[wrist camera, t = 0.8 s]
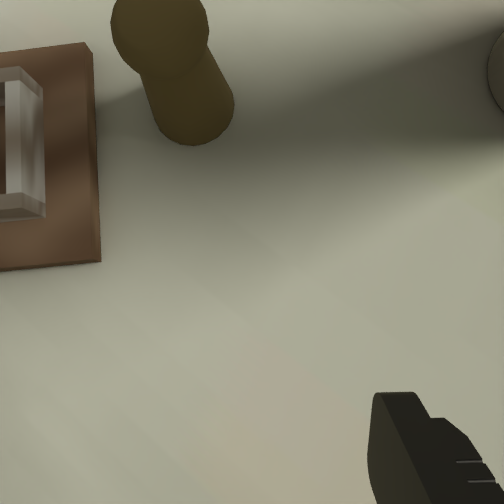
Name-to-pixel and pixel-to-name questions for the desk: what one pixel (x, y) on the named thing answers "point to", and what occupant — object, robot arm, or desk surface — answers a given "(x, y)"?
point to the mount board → (48, 158)
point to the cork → (174, 66)
